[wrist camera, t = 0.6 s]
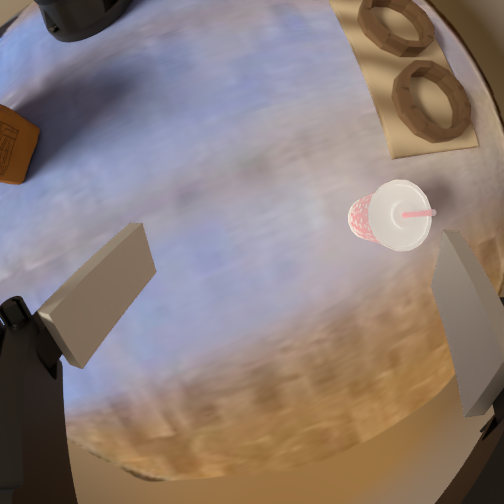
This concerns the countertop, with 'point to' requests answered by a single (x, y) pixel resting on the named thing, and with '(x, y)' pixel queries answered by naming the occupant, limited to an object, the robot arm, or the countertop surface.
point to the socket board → (389, 70)
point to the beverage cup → (393, 216)
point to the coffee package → (15, 145)
